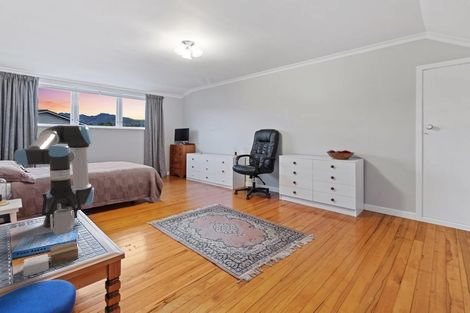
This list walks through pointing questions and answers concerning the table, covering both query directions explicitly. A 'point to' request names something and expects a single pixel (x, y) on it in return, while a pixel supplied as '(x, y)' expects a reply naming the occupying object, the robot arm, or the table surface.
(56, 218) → the mug
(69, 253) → the walnut block
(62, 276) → the table surface
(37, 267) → the grey block
